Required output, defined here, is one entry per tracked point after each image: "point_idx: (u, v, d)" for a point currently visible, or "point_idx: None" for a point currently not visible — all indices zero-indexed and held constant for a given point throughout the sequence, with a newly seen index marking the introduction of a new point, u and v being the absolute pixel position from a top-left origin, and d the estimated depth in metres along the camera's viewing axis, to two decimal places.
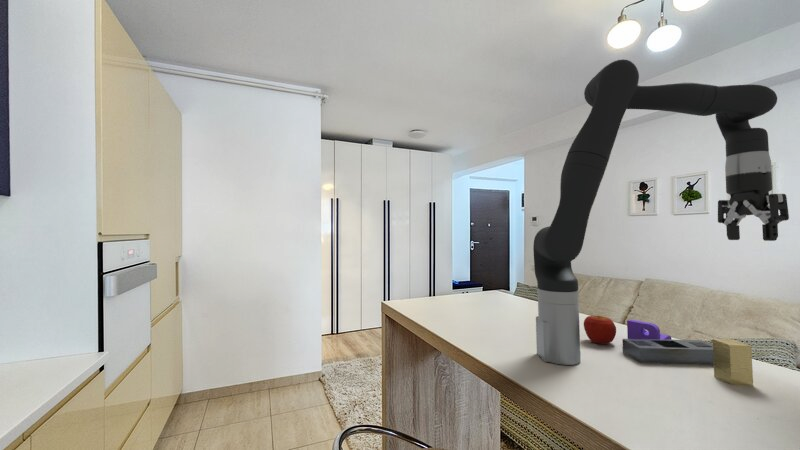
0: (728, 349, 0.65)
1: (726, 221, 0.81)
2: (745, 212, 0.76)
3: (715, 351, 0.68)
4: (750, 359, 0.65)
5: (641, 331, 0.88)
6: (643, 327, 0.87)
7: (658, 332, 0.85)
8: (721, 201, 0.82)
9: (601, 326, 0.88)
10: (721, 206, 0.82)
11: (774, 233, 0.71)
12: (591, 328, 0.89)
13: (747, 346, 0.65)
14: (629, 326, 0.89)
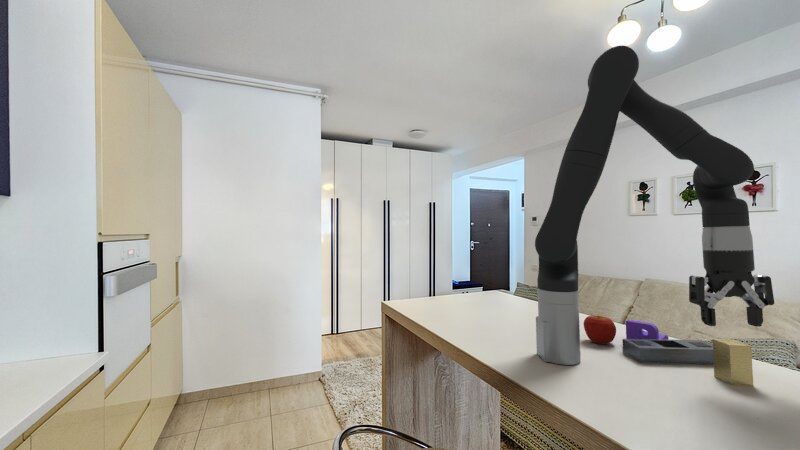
0: (728, 349, 0.65)
1: (711, 303, 0.66)
2: (735, 294, 0.66)
3: (715, 351, 0.68)
4: (750, 359, 0.65)
5: (640, 331, 0.87)
6: (642, 327, 0.87)
7: (657, 332, 0.85)
8: (703, 278, 0.67)
9: (601, 326, 0.88)
10: (703, 284, 0.67)
11: None
12: (591, 328, 0.89)
13: (747, 346, 0.65)
14: (628, 326, 0.89)
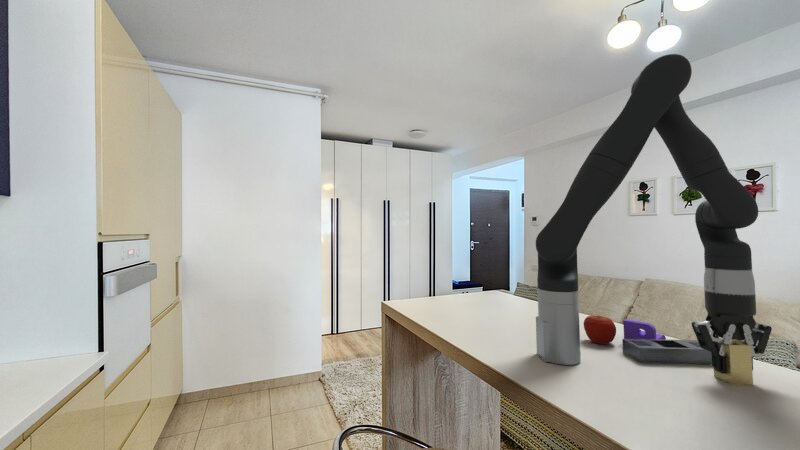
0: (728, 349, 0.65)
1: (723, 351, 0.66)
2: (736, 337, 0.66)
3: None
4: (750, 359, 0.65)
5: (637, 331, 0.88)
6: (639, 327, 0.87)
7: (654, 332, 0.85)
8: (705, 325, 0.66)
9: (601, 326, 0.88)
10: (707, 331, 0.66)
11: None
12: (591, 328, 0.89)
13: (747, 346, 0.65)
14: (625, 326, 0.89)
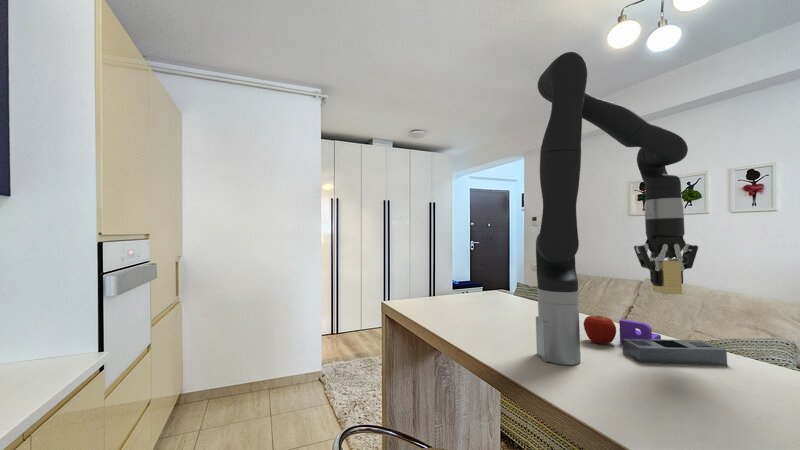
0: (662, 265, 0.78)
1: (658, 267, 0.79)
2: (669, 255, 0.79)
3: None
4: (679, 272, 0.77)
5: (633, 331, 0.88)
6: (635, 327, 0.87)
7: (650, 331, 0.85)
8: (643, 246, 0.79)
9: (601, 326, 0.88)
10: (645, 251, 0.79)
11: None
12: (591, 328, 0.89)
13: (677, 261, 0.77)
14: (621, 326, 0.90)
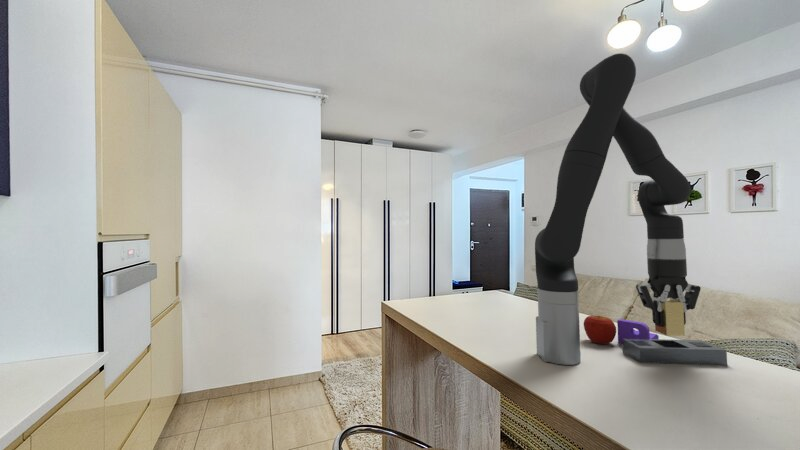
0: (664, 306, 0.78)
1: (660, 307, 0.78)
2: (671, 295, 0.78)
3: None
4: (682, 313, 0.77)
5: (631, 330, 0.88)
6: (633, 326, 0.87)
7: (648, 331, 0.86)
8: (645, 286, 0.79)
9: (601, 326, 0.88)
10: (647, 291, 0.79)
11: None
12: (591, 328, 0.89)
13: (679, 303, 0.77)
14: (619, 326, 0.90)
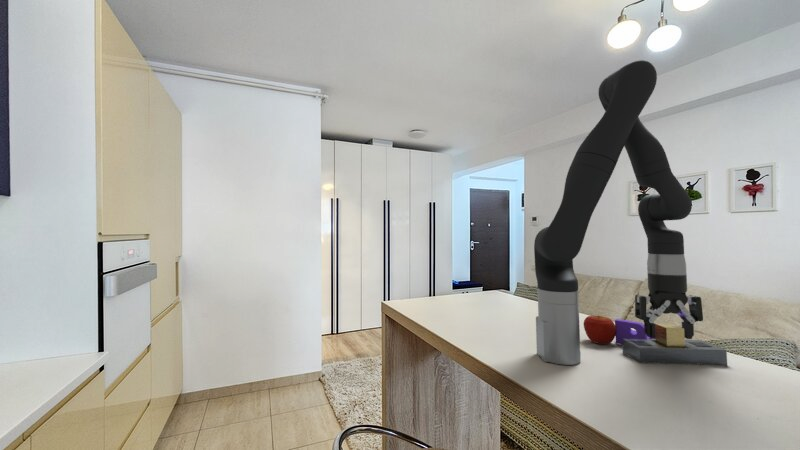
0: (665, 331, 0.78)
1: (652, 319, 0.78)
2: (671, 311, 0.78)
3: (656, 333, 0.81)
4: (683, 339, 0.77)
5: (629, 330, 0.88)
6: (631, 326, 0.87)
7: None
8: (645, 297, 0.79)
9: (601, 326, 0.88)
10: (645, 303, 0.79)
11: None
12: (591, 328, 0.89)
13: (681, 329, 0.77)
14: (617, 326, 0.90)
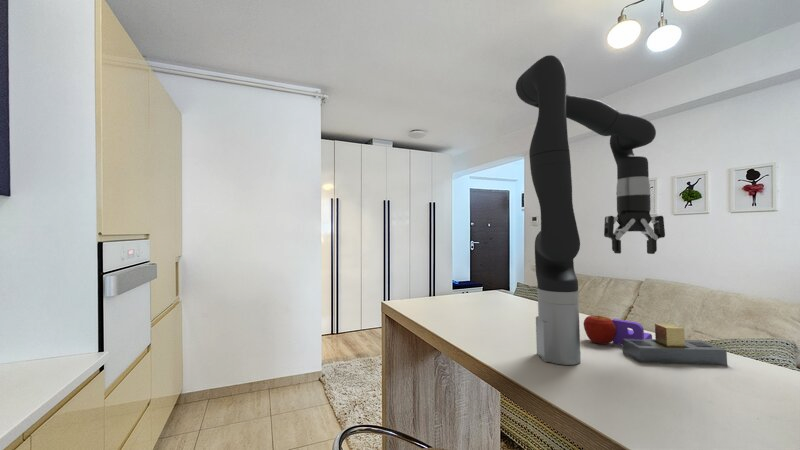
0: (665, 331, 0.78)
1: (618, 236, 0.87)
2: (636, 229, 0.87)
3: (656, 333, 0.81)
4: (683, 339, 0.77)
5: (626, 330, 0.89)
6: (628, 326, 0.88)
7: (642, 331, 0.86)
8: (613, 217, 0.87)
9: (601, 326, 0.88)
10: (613, 221, 0.87)
11: None
12: (591, 328, 0.89)
13: (681, 329, 0.77)
14: None
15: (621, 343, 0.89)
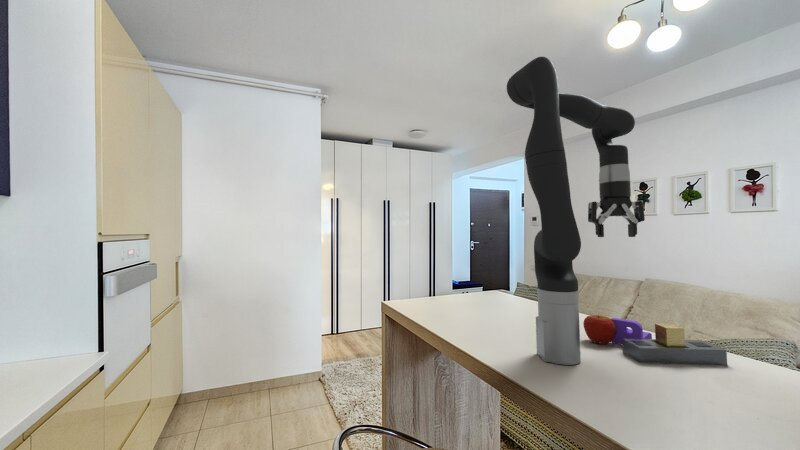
0: (665, 331, 0.78)
1: (601, 220, 0.92)
2: (618, 213, 0.92)
3: (656, 333, 0.81)
4: (683, 339, 0.77)
5: (625, 329, 0.89)
6: (627, 325, 0.88)
7: (641, 330, 0.86)
8: (595, 202, 0.92)
9: (601, 326, 0.88)
10: (596, 207, 0.92)
11: None
12: (591, 328, 0.89)
13: (681, 329, 0.77)
14: None
15: (620, 342, 0.89)
